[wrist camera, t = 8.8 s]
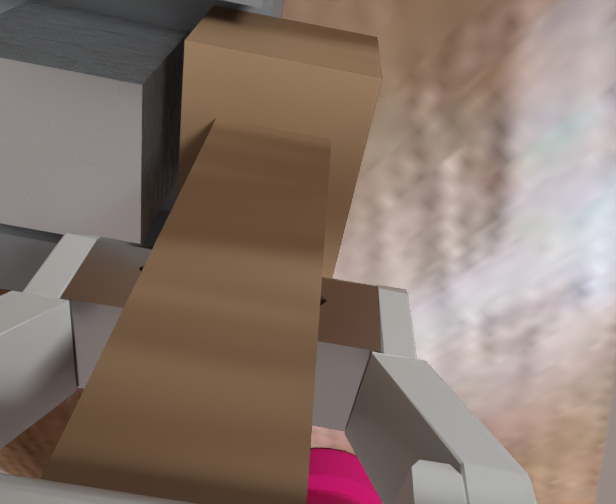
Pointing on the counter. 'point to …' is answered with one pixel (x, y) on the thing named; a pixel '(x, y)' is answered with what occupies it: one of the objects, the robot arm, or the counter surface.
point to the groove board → (39, 244)
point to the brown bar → (233, 273)
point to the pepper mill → (338, 479)
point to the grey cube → (87, 120)
